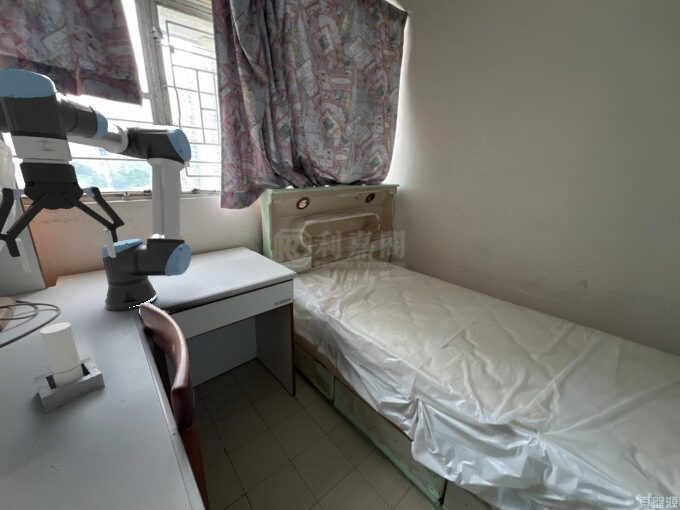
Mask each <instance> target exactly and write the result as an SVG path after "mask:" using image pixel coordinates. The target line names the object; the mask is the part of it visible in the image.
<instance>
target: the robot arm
mask: <svg viewBox="0 0 680 510" xmlns="http://www.w3.org/2000/svg"><path fill="white" fill-rule="evenodd" d="M0 133H1V134H8V133H9V134H10V138H11V141H12V145H13V149H14V152H15V155H16V158H17V159H19V160H22V162H21V161H20V164H19V169H20V172H21V176H22V178H23V182H24V187H23V188H12V187H8V186H3V187H1V191H0V192H1V198H2V200H1V201H0V241H3V242H5V244H6V248H7V250H8V254H9V255H10V257H12V258H17V257H19V260H20V262H21V264H22V268H23V271H24V272H25V274H28V273H29V274H30V273H32V272H33V271H32V269H31V268H32V267H31V265H30V262H29V259H28V255H27V252H26V250H25V246H24V243H23V241H22V239H21V238H20V237H19V235H20V234H21V233H23V231H24V230H25V229H26V228H27V226H28V225H29V224H30V223H31V222H32V221H33V220H34V219H35V217H36V216H37V215H38V214H39V213H41V211H42V210H43V209H45V210H50V211H56V210H60V209H62V210H71V209H73V208H74V207H76V208H77V209H78V210H80V211H82V212H83V213H85V215H88V216H89V217H90V218H92V219H94V220H95V221H97V222H98V223H100V224H101V225H103V226H104V227H105V228H103V229H102V233H103V236H104V241H105V242H104V243H105V245H103V246H102V248H101V254H102V257H101V259H102V262H103V265H104V270H105V276H106V280H107V281H106V282H107V284H108V286H107V293H106V298H105V300H104V303H105V308H106V309H107V310H109V311H113V312H117V311H119V312H121V311H122V312H123V311H129V310H134V309H139V306H136V305H140V304H141V303H144V302H146V301H148V300H150V299H151V298H153V297H154V296H155V295H156V294H157V292H156V290H155V288H154V286H153V285H152V282H151V281H150V279H149V277H172V276H181V275H183V274H185V273H186V272H187V270H188V268H189V267H190V264H191V260H192V250H191V246H190V245H189V244H186V243H185V242H186V239H185V238H184V237H183V236H182V235H181V171H183V170H184V169H185V168H186V163H188V162H190V161H192V160H191V159H192V148H191V143H190V142H189V139H188V137H187V135H186V133H185V132H184V131H183V130H182V129H181V128H180V127H176V126H169V125H151V124H150V125H149V124H147V125H146V124H138V123H137V124H132V123H131V124H127V123H124V124H123V123H122V124H121V123H115V122H110V121H108V118H107V116H106V115H105V114H104V112H103V111H102V110H101V109H100V108H98V107H96V106H94V105H93V104H89V103H88V102H86V101H84V100H83V101H82V100H77V99H74V98H71V97H69V96H68V97H67V96H65V95H61V94H60V93H58V90H57V89H56V86H55V83H54V80H52V79H51V78H50V77H49V76H47V75H43V74H41V73H37V72H35V71H30V70H25V69H20V68H13V67H0ZM69 143H72V144H73V143H74V144H77V145H84V146H89V147H94V148H101V149H103V150H104V151H106V152H107V153H111V154H116V155H120V156H125V157H130V158H134V159H140V160H146V162H147V164H149V166H151V193H152V194H151V234H150V235H149V236H148V237H147V238H146V243H144V241H143V240H142V238H134V239H133V238H130V239H126V240H125V239H124V240H118V239H119V238H118V234H117V229H118V228H121V227H123V226H125V222H124V221H123V219H122V218H121V217H120V216H119V215H118V214H117V212H116V211H115V210H114V209H113V208H112V207H111V206H110V204H109V203H108V202H107V201H106V200H105V199H104V198H103V195H102V194H101V193H102V192H101V190H100V188H99V187H97V186H89V187H84V188H83V187H81V186H80V185H79V181H78V177H77V172H76V170H75V169H76V168H75V165H73V163H72V164H70V162H72V161H73V156H72V153H71V149H70V148H71V147H70V145H69ZM84 194H86V195H87V196H88V197H89V198H92V199H93V200H94V202H96V204H97V205H98V206H99V207H100V208H101V209H102V210H103V212H104V213H105V214H106V215H107V216H108V218H110V219H111V221H112V222H110V221H109V220H108V219H106V218H105V217H104V216H102V215H101V214H99V213H98V212H96V211H95V210H93V209H92V208H91V207H89V206H88V205H87V204H85V203H83V202H82V201H80V200H81V198H82V197H83V195H84ZM21 196H26V197H27V198H29V199H30V200H31V201H32V202H31V204H30V205H29V206H28V207H27V209H25V210H24V212H23V213H21V215H20V216H19V218H18V219H17V220H16V221H15V222H14V223H13V224H12V225H11V226H10V227H9V229H8V230H7V231H6V232H2V231H3V229H4V227H5V224H6V222H7V220H8V218H9V216H10V213H11V210H12V209H13V206H14V204H15V201H17V200H19V199H20V198H21ZM18 237H19V238H18ZM150 302H151V301H150ZM133 306H135V307H133ZM129 307H130V308H129Z"/></svg>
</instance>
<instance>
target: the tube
mask: <svg viewBox="0 0 680 510" xmlns="http://www.w3.org/2000/svg"><path fill="white" fill-rule="evenodd" d="M39 332H40V335H41V339H42V342H43V345H44V349H45V350H44V351H45V353H46V354H45V355H46V357H47V359H48V363H49V368H50V370H51V371H52V374H53V378H54V381H55V385H56V388H58V387H60V386H62V385H65V384H67V383H70V382H72V381H75V380H77V379H79V378H82V377H84V375H83V372H82V368H81V364H80V361H81V360H80V357H79V353H78V349H77V345H76V341H75V337H74V333H73V329H72V325H71V323H70V322H68V321H67V322H57V323H54V324H50V325H47V326H44V327H43V328H42V329H40V331H39ZM51 371H50V372H51Z"/></svg>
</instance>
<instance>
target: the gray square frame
mask: <svg viewBox="0 0 680 510" xmlns="http://www.w3.org/2000/svg"><path fill="white" fill-rule="evenodd" d="M80 364H81V368H82V372H83V375H84V377H82V378H79V379H77V380H75V381H72V382H70V383H67V384H65V385H62V386H60V387H58V388H56V385H55V381H54V378H53V374H52V371H49V372H46V373H43V374H41V375H38V376H36V377H33V380H34V383H35V386H36V390H37V393H38V395H39V398H40V401H41V403H42V405H43V408H44V411H45V413H46V414H47V413H49V412H51V411H54V410H57V409H59V408H61V407H63V406H65V405H68V404H69V403H72V402H74V401H76V400H78V399H80V398H82V397H85V396H87V395H90V394H92V393H93V392H95V391H99V390H100V389H102V388H104V387H106V384H105V381H104V378H103V373H102V371H101V370H100V369H99V368H98V366H97V365H96V363H95V362H94V361H93V359H92V358H91V356H89V357H87V358H83V359H81V360H80Z"/></svg>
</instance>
